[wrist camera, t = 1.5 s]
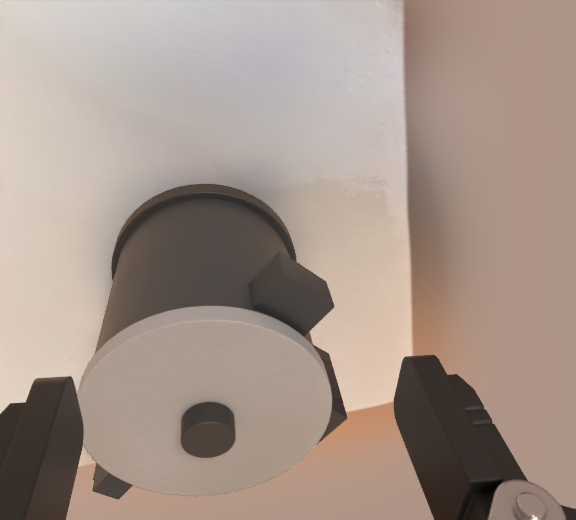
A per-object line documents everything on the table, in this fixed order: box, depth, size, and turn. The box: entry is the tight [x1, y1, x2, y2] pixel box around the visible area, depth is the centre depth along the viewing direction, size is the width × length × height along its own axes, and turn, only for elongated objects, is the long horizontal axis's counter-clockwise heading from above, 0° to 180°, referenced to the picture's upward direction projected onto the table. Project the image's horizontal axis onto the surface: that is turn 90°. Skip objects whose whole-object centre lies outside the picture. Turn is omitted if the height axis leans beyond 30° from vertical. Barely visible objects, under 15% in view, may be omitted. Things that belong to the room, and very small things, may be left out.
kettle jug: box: [77, 184, 347, 499], centre depth 29 cm, size 13×17×14 cm
